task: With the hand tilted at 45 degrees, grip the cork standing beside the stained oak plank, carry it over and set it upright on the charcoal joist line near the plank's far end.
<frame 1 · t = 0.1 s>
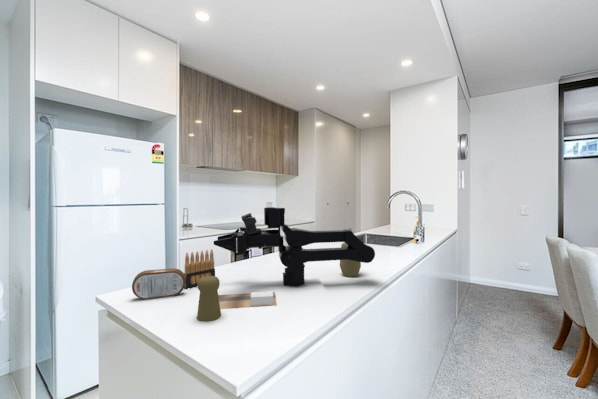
hand: (215, 240, 93), 17 cm above the counter, tool horizontal, fingers open, 9 cm apart
oak plank: (240, 304, 82), on the counter
squeeze bottle: (350, 275, 111), on the counter
white rectangular prism: (261, 302, 80), point 1 cm above the counter, touching oak plank
tin: (160, 297, 89), on the counter
cork: (209, 322, 71), on the counter
ammunition clip: (200, 285, 100), on the counter
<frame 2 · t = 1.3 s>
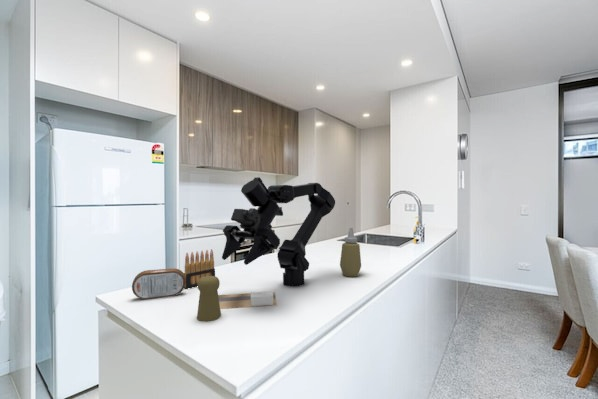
hand: (233, 261, 77), 13 cm above the counter, tool tilted 45°, fingers open, 9 cm apart
nothing on the counter moved.
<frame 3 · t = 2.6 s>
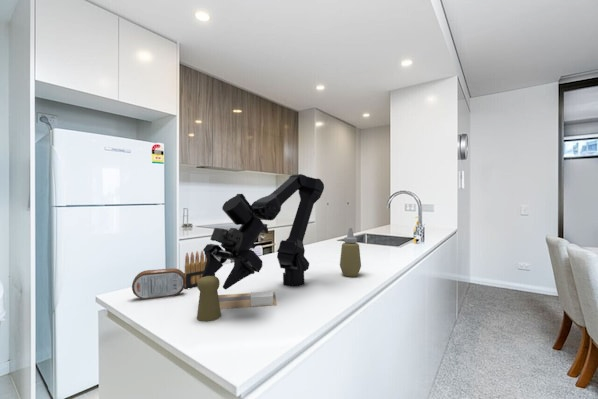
hand: (212, 284, 72), 9 cm above the counter, tool tilted 45°, fingers open, 9 cm apart
nothing on the counter moved.
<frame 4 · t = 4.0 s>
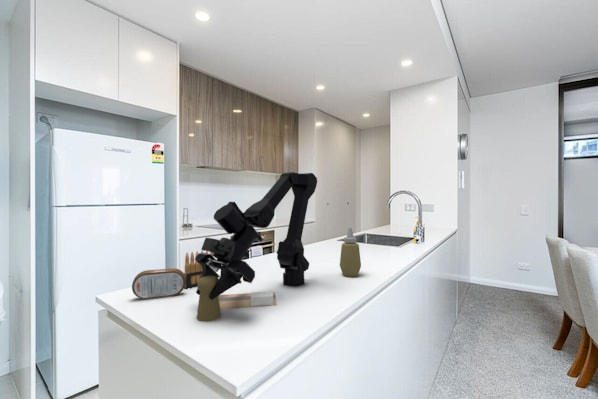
hand: (203, 296, 70), 7 cm above the counter, tool tilted 45°, fingers closed on cork, 5 cm apart
cork: (209, 322, 71), on the counter, touching gripper
everything else where it was.
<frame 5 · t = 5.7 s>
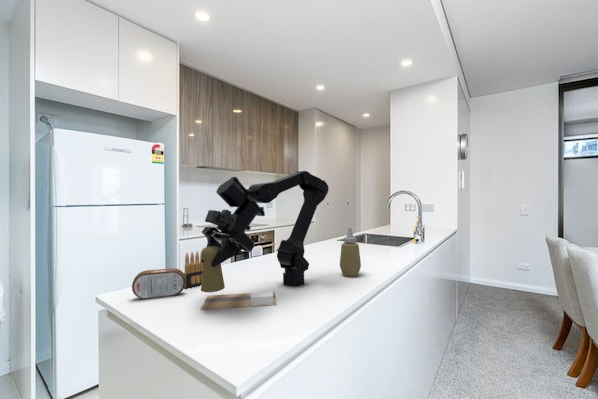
hand: (207, 264, 75), 13 cm above the counter, tool tilted 45°, fingers closed on cork, 5 cm apart
cork: (212, 289, 76), point 6 cm above the counter, touching gripper
everything else where it was.
when the fingers open (9 cm above the counter, at t = 7.6 s): cork drops 1 cm, resting on oak plank.
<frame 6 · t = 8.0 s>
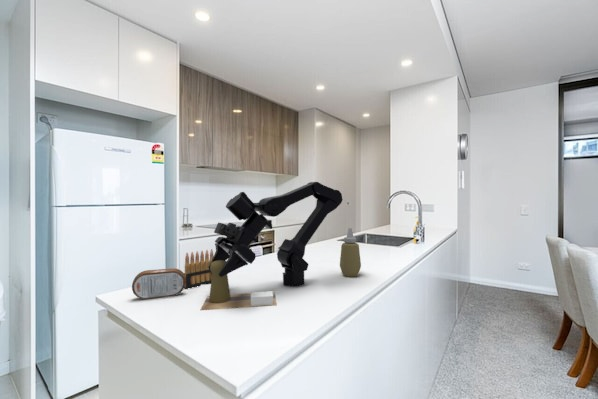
hand: (214, 272, 82), 9 cm above the counter, tool tilted 45°, fingers open, 9 cm apart
cork: (219, 300, 82), point 1 cm above the counter, touching oak plank
everything else where it was.
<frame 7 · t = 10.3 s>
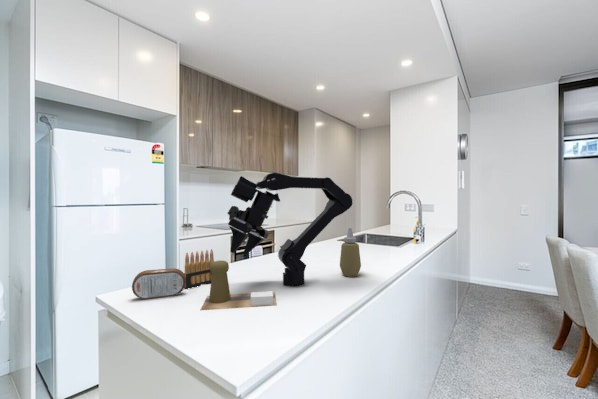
hand: (238, 253, 91), 13 cm above the counter, tool tilted 25°, fingers open, 9 cm apart
nothing on the counter moved.
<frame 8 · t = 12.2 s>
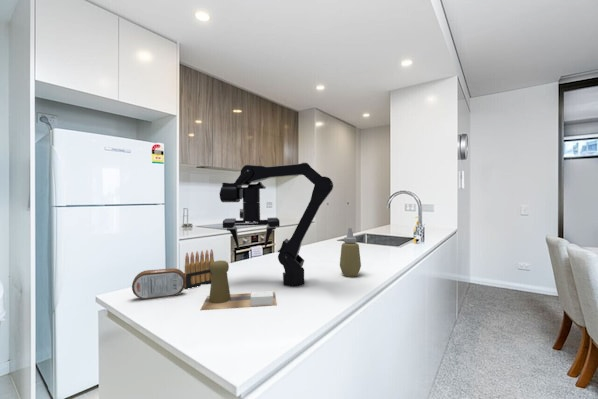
hand: (251, 248, 98), 13 cm above the counter, tool pointing down, fingers open, 9 cm apart
nothing on the counter moved.
at the end: cork 0.3 cm from the target spot on the oak plank, point 1.0 cm above the oak plank's base; cork tilted 0°; the gripper is holding nothing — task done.
